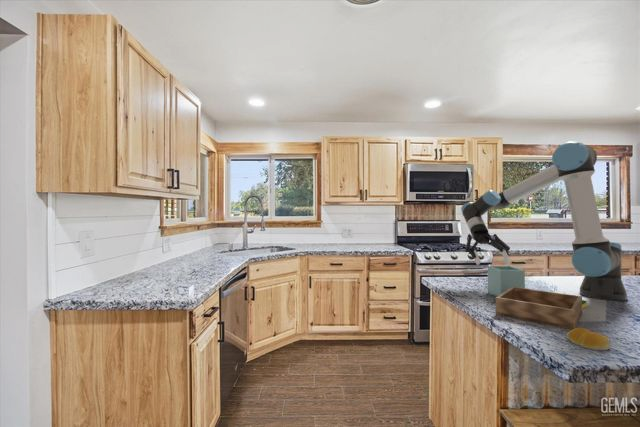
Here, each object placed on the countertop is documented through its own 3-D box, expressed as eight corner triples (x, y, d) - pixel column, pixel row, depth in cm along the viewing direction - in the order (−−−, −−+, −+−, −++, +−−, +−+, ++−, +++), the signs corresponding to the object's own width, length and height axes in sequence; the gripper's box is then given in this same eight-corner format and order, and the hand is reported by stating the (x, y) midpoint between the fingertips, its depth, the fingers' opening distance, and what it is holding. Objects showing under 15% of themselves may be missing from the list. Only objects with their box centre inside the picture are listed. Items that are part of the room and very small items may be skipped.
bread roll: (598, 354, 83) (598, 338, 83) (562, 340, 92) (562, 326, 92) (618, 348, 86) (618, 333, 86) (581, 336, 95) (581, 322, 94)
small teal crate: (510, 292, 143) (510, 265, 143) (524, 299, 133) (524, 270, 133) (487, 293, 143) (487, 266, 143) (500, 299, 133) (500, 270, 133)
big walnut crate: (582, 313, 115) (582, 296, 115) (574, 330, 99) (574, 310, 99) (512, 301, 130) (512, 286, 130) (495, 314, 114) (495, 297, 114)
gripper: (499, 232, 163) (517, 267, 148) (450, 233, 163) (463, 268, 148) (505, 222, 158) (525, 258, 143) (454, 223, 158) (469, 258, 143)
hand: (493, 263), depth 146 cm, fingers open, 13 cm apart
